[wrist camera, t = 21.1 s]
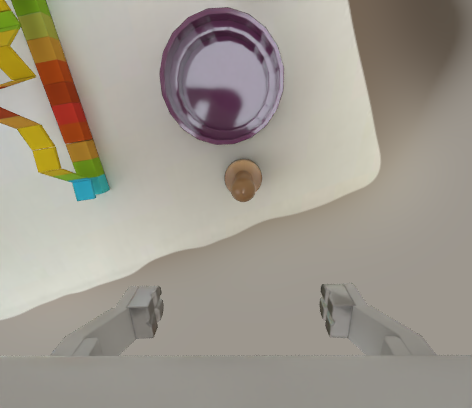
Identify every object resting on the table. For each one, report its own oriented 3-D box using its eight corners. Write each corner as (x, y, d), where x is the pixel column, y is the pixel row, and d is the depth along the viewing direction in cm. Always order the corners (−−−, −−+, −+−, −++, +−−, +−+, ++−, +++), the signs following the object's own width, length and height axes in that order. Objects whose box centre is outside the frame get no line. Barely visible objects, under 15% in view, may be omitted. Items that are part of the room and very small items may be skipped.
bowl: (178, 141, 37) (168, 146, 32) (166, 27, 32) (151, 11, 27) (276, 138, 37) (282, 142, 31) (278, 21, 32) (285, 4, 27)
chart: (-1, -54, 30) (-215, -199, 16) (25, -60, 30) (-170, -213, 16) (90, 192, 40) (7, 236, 26) (110, 189, 40) (37, 232, 26)
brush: (224, 157, 38) (219, 171, 29) (260, 156, 38) (265, 170, 29) (226, 191, 40) (221, 214, 31) (260, 190, 39) (265, 213, 31)
